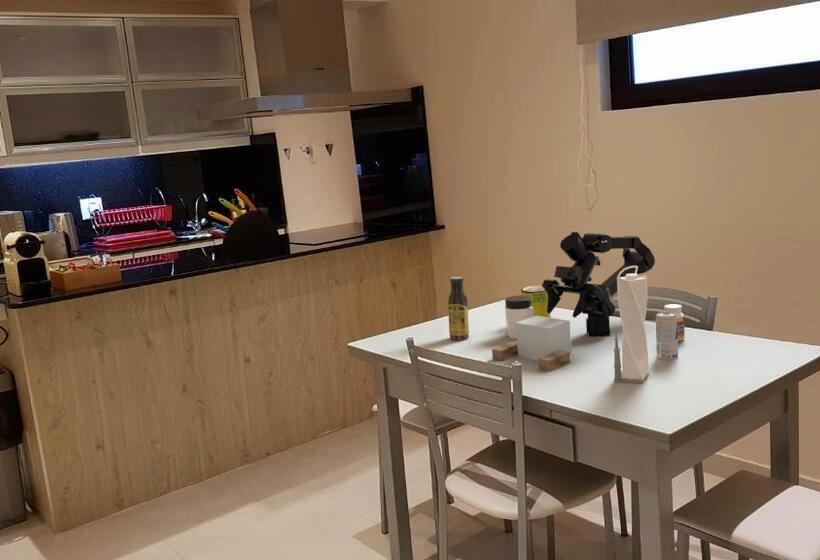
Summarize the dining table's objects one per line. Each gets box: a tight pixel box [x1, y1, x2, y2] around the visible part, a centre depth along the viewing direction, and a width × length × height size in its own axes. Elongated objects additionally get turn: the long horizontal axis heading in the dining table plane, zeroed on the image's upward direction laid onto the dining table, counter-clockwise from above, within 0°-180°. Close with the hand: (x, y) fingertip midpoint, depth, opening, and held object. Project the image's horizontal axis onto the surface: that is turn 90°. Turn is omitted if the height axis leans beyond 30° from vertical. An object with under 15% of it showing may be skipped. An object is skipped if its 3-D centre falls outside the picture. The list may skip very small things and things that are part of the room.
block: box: [516, 316, 573, 361], centre depth 214 cm, size 9×12×10 cm
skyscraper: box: [613, 266, 650, 385], centre depth 188 cm, size 8×8×28 cm
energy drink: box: [655, 311, 679, 361], centre depth 202 cm, size 5×5×12 cm
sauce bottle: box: [447, 276, 470, 341], centre depth 239 cm, size 6×6×20 cm
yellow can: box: [520, 285, 552, 318], centre depth 248 cm, size 9×9×12 cm
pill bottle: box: [664, 303, 685, 342], centre depth 217 cm, size 6×6×10 cm
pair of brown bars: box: [491, 340, 571, 373], centre depth 211 cm, size 9×20×3 cm, turn 40°
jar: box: [504, 294, 533, 340], centre depth 236 cm, size 9×8×12 cm
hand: (560, 314), depth 218 cm, fingers open, 9 cm apart
